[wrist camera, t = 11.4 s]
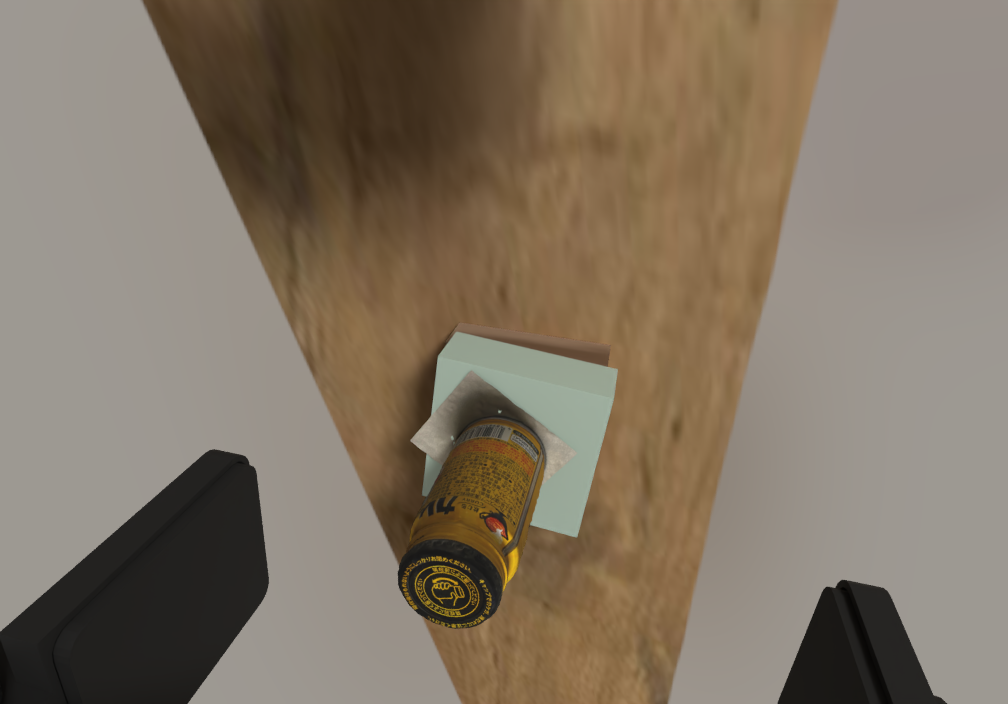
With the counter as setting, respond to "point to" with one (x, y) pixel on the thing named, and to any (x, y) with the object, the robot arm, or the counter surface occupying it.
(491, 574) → the condiment
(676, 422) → the counter surface
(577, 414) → the top block
